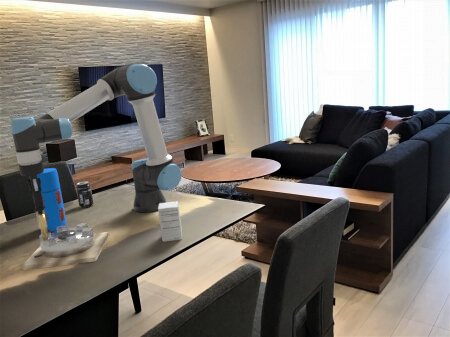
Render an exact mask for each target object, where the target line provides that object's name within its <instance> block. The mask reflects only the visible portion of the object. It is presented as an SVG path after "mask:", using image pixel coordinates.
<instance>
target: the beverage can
mask: <svg viewBox="0 0 450 337" xmlns="http://www.w3.org/2000/svg"><path fill="white" fill-rule="evenodd" d="M75 190H76V196H77V200H78V205H79V207H80V208H84V209H85V208H90V207H92V206H93V204H94V200H93V199H94V198H93V194H92V193H93V192H92V186H91V183H89V181H88V180H87V181H80V182H77V183H76V186H75Z"/></svg>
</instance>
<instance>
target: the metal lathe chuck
mask: <svg viewBox="0 0 450 337" xmlns="http://www.w3.org/2000/svg"><path fill="white" fill-rule="evenodd" d="M38 218H39V223H40V228H41V229H40V235H39V236H38V237H39V246H40V245H41V250H42V254H43V255H44V256H46V257H64V256H70V255H74V254H77V253H80V252H82V251H85V250H87V249H89V248H90V247H92V246H93V245H94V243H95V240H94V229H93V227H89V225H88V223H85V222H81V223H79V224H76V225H75V227H69V228H68V227H67V226H65V225H62V226H58V227H56V228H57V231H53V232H52V233H51V232H48V231H47V226H46V221H45V216H44V214H39V215H38Z"/></svg>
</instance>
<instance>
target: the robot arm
mask: <svg viewBox="0 0 450 337" xmlns="http://www.w3.org/2000/svg"><path fill="white" fill-rule="evenodd" d="M157 79H158V78H157V75H156V73H155V70H153V68H151V67H150V66H148V65H147V64H144V63H133V64H129V65H124V66H118V67H117V68H114V69H113V70H112V71H110V72H108V73H107V74H105V75H104V76H102V77H100V78H99V79H98V80H97V81H96V84H94V85H91V87H89V88H88V89H85V90H84V91H82V92H81V93H79V94H77V95H75V96H74V97H71V98H70V99H69V100H67V101H66V102H63V103H62V104H60V105H59V106H57V107H55V108H54V109H51V110H50V111H49V112H47V113H46V114H43V115H42V116H41V117H38V118H35V117H33V116H27V117H26V116H25V117H17V118H12V119H11V121H10V129H11V135H12V139H13V144H14V147H15V155H16V159H17V164H19V165H18V169H19V174H20V176H22V177H28V179H27V184H28V187H29V191H30V193H31V194H32V195H31V196H32V199H33V200H32V201H33V206H34V209H33V212H34V213H35V215H36V220H37V225H38V229H39V230H41V228H40V223H39V218H38V215H39V214H44V216H45V212H44V208H45V206H43V201H42V195H41V191H42V190H41V180H40V178H37V174H41V173H43V172H44V169H45V168H44V163H43V161H42V160H43V159H42V155H43V151H42V150H41V146H40V144H44V143H49V142H50V143H51V142H55V141H56V142H57V141H63V140H66V139H67V140H68V139H70V138H71V137H72V136H73V125H72V122H74V121H76V120H77V119H79V118H80V117H82V116H85V114H87V113H90V111H92V110H93V109H95V108H96V107H98V106H99V105H101V104H103V103H105V102H106V101H112V100H114V99H115V98H117V97H121V96H126V101H127V102H128V103H129V104H131V105H132V107H133V111H134V113H135V114H134V115H135V118H136V120H137V125H138V128H139V131H140V134H141V138H142V139H141V140H142V143H143V146H144V149H145V153H146V156H147V158H141V159H137V160H134V161H132V163H131V171H132V179H133V184H134V190H135V191H134V192H135V195H134V198H133V199H134V201H133V211H135V212H137V213H151V212H152V213H153V212H158V206H159V203H167V199H166V197H165V194H163V191H172V190H175V189H176V188H177V187H178V186H179V184H180V182H181V180H182V177H183V174H182V170H181V168H180V166H179V165H177V164H176V163H174V159H173V156H172V155H171V154H170V153H168V150H167V146H166V142H165V140H164V136H163V135H164V134H163V132H162V128H161V124H160V121H159V120H160V119H159V117H158V113H157V110H156V106H155V102H154V98H155V96H156V92H155V89H156V87H157V83H158V80H157ZM45 221H46V217H45ZM46 226H47V222H46Z"/></svg>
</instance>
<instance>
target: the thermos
mask: <svg viewBox="0 0 450 337" xmlns="http://www.w3.org/2000/svg"><path fill="white" fill-rule="evenodd" d="M37 178H40V180H41V190H42V191H41V195H42V201H43V206H45V208H44V212H45V217H46V222H47V231H48V233H50V232H52V233H53V232H56V231H57V228H56V227H58V226H62V225H65V226H66V227H67V219H66V212H65V207H64V201H63V200H64V199H63V196H62V189H61V184H60V180H59V179H60V178H59V173H58V171H57V168H55V167H51V168H44V172H43V173H41V174H37Z"/></svg>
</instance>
